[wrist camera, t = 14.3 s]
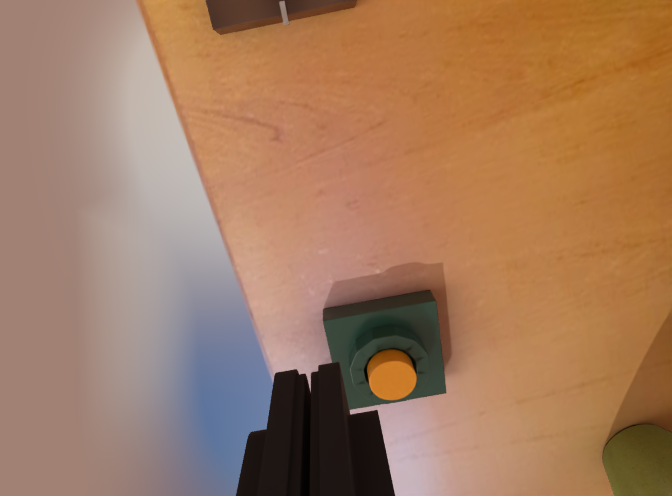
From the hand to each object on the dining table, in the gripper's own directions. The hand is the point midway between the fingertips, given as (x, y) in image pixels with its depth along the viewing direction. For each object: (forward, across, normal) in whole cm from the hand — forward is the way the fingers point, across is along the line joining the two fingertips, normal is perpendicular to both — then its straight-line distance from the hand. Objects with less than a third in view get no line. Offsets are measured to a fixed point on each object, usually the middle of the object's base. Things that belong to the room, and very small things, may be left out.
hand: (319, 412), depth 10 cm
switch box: (+24, -4, +15) cm, 29 cm away
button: (+20, -4, +15) cm, 26 cm away
